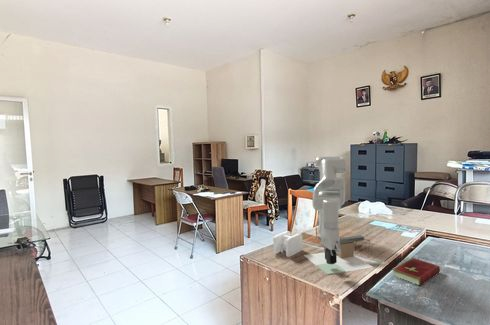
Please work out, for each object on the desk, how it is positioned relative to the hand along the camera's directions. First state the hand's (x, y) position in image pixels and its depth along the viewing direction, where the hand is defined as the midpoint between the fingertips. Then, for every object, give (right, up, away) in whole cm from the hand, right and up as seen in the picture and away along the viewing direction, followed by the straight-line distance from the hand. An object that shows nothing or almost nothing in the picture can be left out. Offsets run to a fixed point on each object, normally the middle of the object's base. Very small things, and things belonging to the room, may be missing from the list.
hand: (330, 260), depth 134 cm
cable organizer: (-17, -5, +24) cm, 30 cm away
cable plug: (0, -1, 0) cm, 1 cm away
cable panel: (+6, -5, +9) cm, 12 cm away
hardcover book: (+40, -6, -4) cm, 40 cm away
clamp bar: (+15, +5, +15) cm, 22 cm away
